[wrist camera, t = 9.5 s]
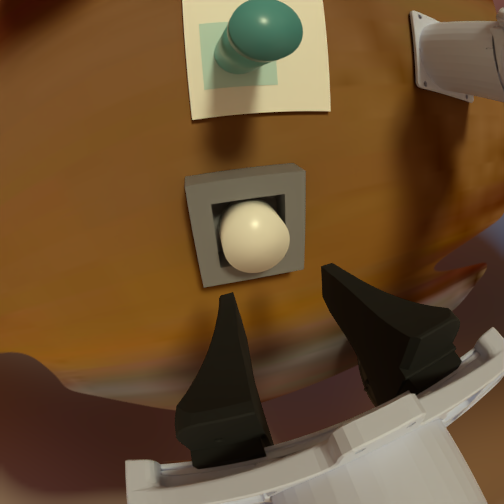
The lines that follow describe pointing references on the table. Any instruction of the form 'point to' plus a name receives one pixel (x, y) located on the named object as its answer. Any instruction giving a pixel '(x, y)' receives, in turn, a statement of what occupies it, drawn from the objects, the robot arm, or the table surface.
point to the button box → (238, 188)
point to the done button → (252, 235)
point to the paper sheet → (263, 78)
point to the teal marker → (258, 36)
